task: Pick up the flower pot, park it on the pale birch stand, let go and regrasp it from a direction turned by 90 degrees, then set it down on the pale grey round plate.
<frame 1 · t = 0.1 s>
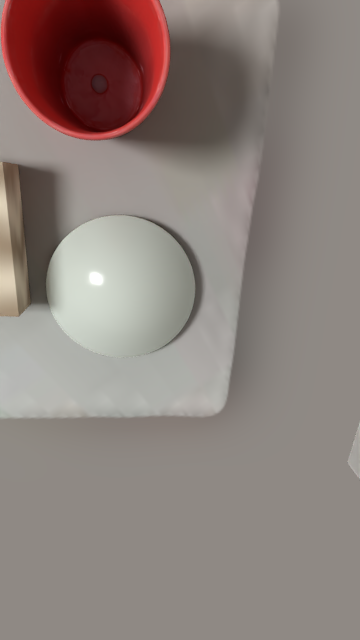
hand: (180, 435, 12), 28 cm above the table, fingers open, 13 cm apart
pale grey round plate: (123, 289, 38), on the table
flower pot: (102, 88, 31), on the table
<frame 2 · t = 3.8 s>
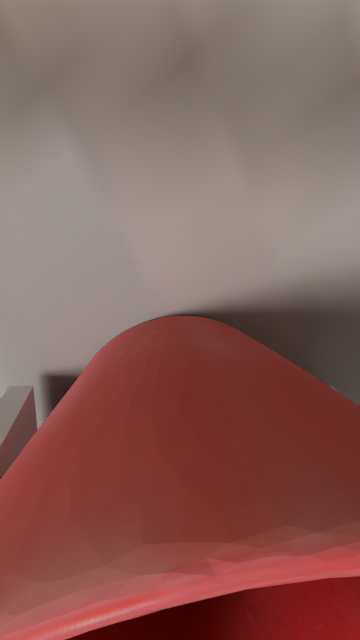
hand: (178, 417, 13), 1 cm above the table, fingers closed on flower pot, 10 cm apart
flower pot: (176, 401, 14), on the table, touching gripper
when the fingers open (6 cm above the table, at t = 10.8 s): flower pot moves 2 cm, point 4 cm above the table.
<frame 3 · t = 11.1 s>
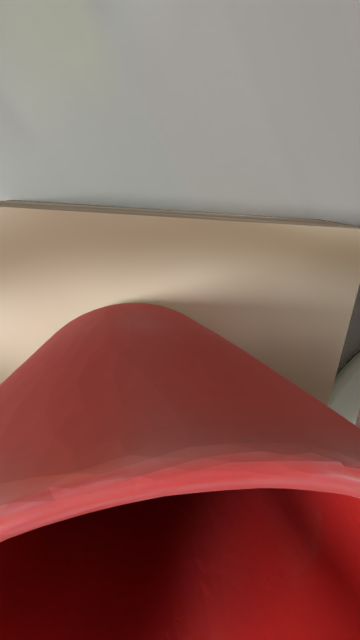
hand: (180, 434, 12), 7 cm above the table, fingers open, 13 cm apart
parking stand: (166, 350, 18), on the table
flower pot: (130, 388, 14), point 4 cm above the table, touching gripper
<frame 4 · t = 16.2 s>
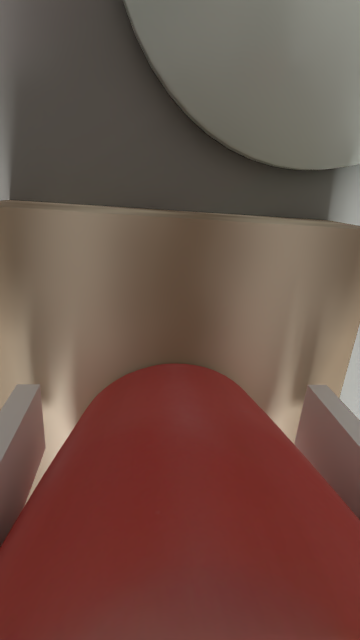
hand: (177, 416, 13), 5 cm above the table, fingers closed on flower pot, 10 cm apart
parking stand: (168, 354, 17), on the table
flower pot: (168, 439, 15), point 4 cm above the table, touching gripper, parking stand
when the fingers open (4 cm above the table, at t = 23.5 s): flower pot moves 4 cm, resting on pale grey round plate.
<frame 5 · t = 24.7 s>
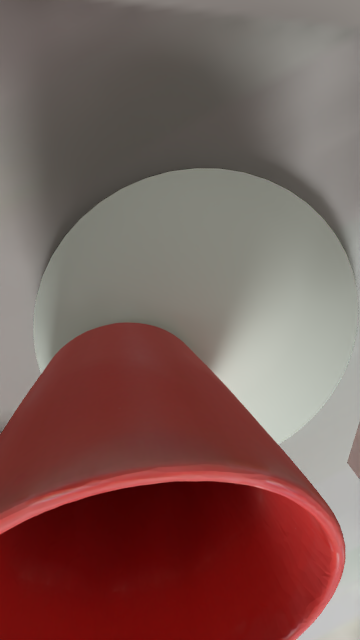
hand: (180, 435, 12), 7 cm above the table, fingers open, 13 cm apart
pale grey round plate: (198, 336, 18), on the table
flower pot: (123, 389, 17), point 1 cm above the table, touching pale grey round plate, gripper
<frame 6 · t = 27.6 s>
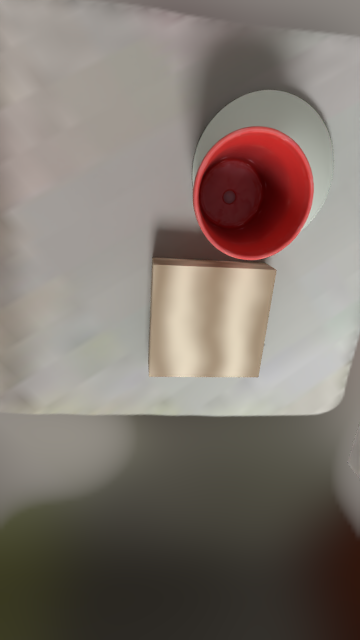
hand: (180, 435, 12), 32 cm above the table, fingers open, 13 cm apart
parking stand: (204, 313, 44), on the table
pale grey round plate: (261, 174, 39), on the table
flower pot: (228, 195, 39), point 1 cm above the table, touching pale grey round plate
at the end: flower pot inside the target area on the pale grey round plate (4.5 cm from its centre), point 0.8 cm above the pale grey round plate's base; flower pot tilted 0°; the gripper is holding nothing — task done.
